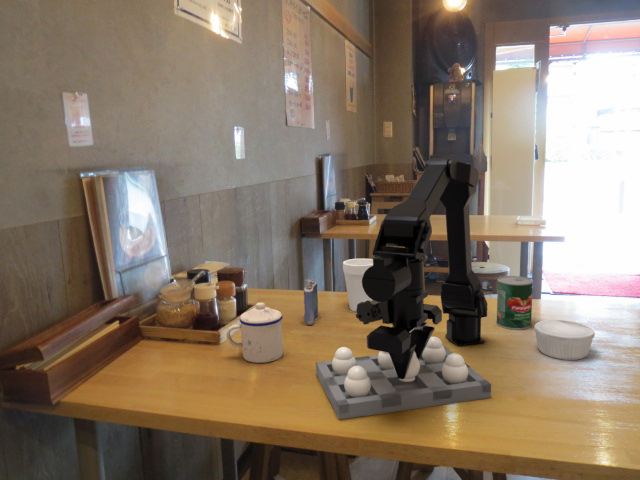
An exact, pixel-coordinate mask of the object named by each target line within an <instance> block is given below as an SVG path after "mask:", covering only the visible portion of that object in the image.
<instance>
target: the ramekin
mask: <svg viewBox="0 0 640 480" xmlns="http://www.w3.org/2000/svg"><path fill="white" fill-rule="evenodd" d="M533 327H534V329H533V330H534V333H535V339H536V345H537V347H538V350H539V351H540V352H541V353H542V354H544V355H545V356H548V357H550V358H554V359H558V360H564V361H565V360H566V361H576V360H581V359H584V358H585V357H587V356H588V355H589V354H590V350H591V346H592V342H593V339H594V338H595V330H594V329H593V328H592V327H590V326H588V325H587V324H583V323H581V322H577V321H573V320H566V319H545V320H541V321H538V322H536V323H535V324H534V326H533Z"/></svg>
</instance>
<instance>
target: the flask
mask: <svg viewBox="0 0 640 480" xmlns="http://www.w3.org/2000/svg"><path fill="white" fill-rule="evenodd" d="M304 282H305V283H306V285H305V286H304V287H303V288H304V289H303V301H304V302H303V304H304V324H305V325H306V326H309V327H310V326H313V325H315V323H316V321H317V319H318V317H319V307H318V305H319V304H318V303H319V300H318V296H319V295H318V282H315V281H314V280H311V279H305V281H304Z"/></svg>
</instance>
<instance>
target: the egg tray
mask: <svg viewBox="0 0 640 480" xmlns="http://www.w3.org/2000/svg"><path fill="white" fill-rule="evenodd" d="M419 362H420V370H419V372H418V374H417V375H416V376H415V380H414V381H412V382H403V381H400V380H399V378H398V376H397V374H396V373H395V371H394V368H393V362H392V360H391V357H390V355H389V353H388V352H383V351H379V352H378V354H375V355H374V354H373V355H365V356H359V357H358V356H357V357H356V356H354V354H353V352H352V349H350V348H348V347H347V346H342V347H339V348H337V350H336V351H335V354H334V357H333V358H332V360H325V361H324V360H323V361H317V362H315V367H316V368H315V370H316V376H317V378H318V381H319V382H320V385H321V386H322V388H323V390H324V393H325V395H326V396H327V398H328V400H329V402H330V404H331V406H332V409H333V411H334V413H335V415H336V416H337V418H338V420H339V421H341V420H346V419H348V420H349V419H354V418H359V417H360V418H361V417H367V416H373V415H380V414H389V413H396V412H401V411H409V410H414V409H423V408H428V407H436V406H441V405H442V406H443V405H448V404H456V403H463V402H468V401H476V400H483V399H490V398H491V397H492V383H491V382H490V381H488V380H487V379H486V378H485V377H483V376H482V375H481V374H479V373H478V372H477V371H476V370H475V369H473V368H472V367H471V366H470V365H468V364H467V363H466V362H465V359H464V357H463V356H462V355H461V354H459V353H454V352H452V351H451V350H450V348H447V347H446V346H444V345H443V342H442V340H441V339H440V338H439V337H438V336H433V335H431V337H430V339H429V341H428V343H427V345H426V347H425V349H424V351H423V354H422V356H421V358H420V360H419Z"/></svg>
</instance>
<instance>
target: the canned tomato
mask: <svg viewBox="0 0 640 480" xmlns="http://www.w3.org/2000/svg"><path fill="white" fill-rule="evenodd" d="M533 282H534V281H533V279H531V278H530V277H526V276H525V277H524V276H519V275H506V276H500V277H498V278H497V290H496V291H497V293H496V294H497V295H496V296H497V299H496V302H497V303H496V324H497V326H498V327H501V328H502V329H507V330H516V331H517V330H518V331H519V330H521V331H522V330H527V329H528V330H529V329H530V328H531V327H532V314H533V313H532V310H533V307H532V306H533V284H534V283H533Z"/></svg>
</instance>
